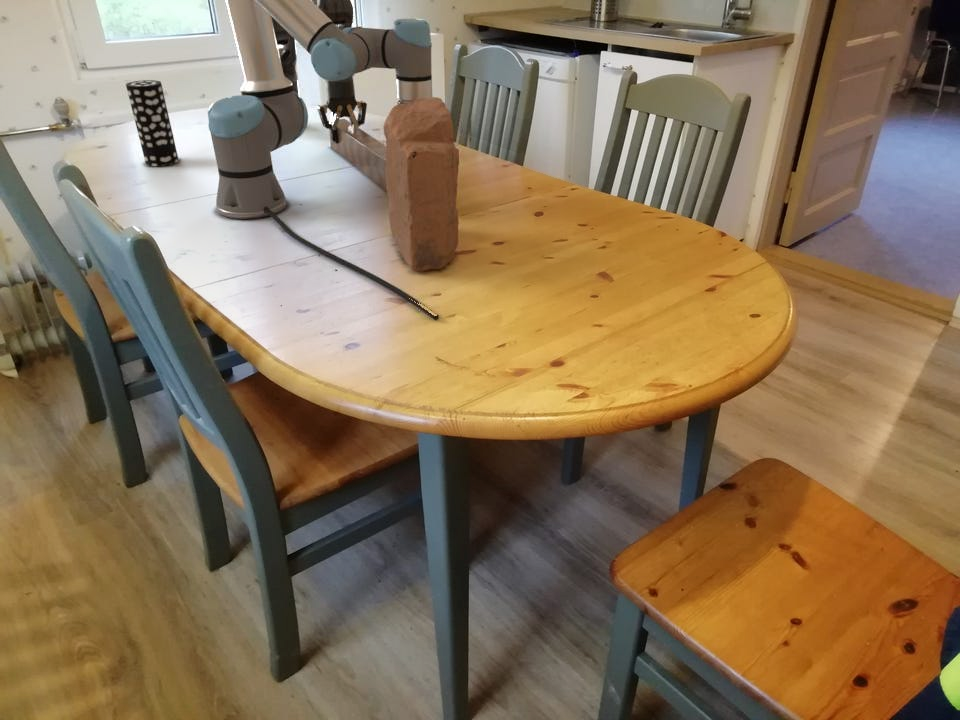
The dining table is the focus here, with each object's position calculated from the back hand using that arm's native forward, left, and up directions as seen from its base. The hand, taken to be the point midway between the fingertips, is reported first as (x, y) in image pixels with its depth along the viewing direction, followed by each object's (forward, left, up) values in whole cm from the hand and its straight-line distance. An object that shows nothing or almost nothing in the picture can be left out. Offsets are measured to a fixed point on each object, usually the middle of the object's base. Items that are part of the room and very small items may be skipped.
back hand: (345, 141), depth 195 cm
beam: (+24, -5, -3) cm, 25 cm away
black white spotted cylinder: (-23, -44, +7) cm, 50 cm away
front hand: (+49, -10, -2) cm, 50 cm away
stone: (+69, -24, -3) cm, 73 cm away
